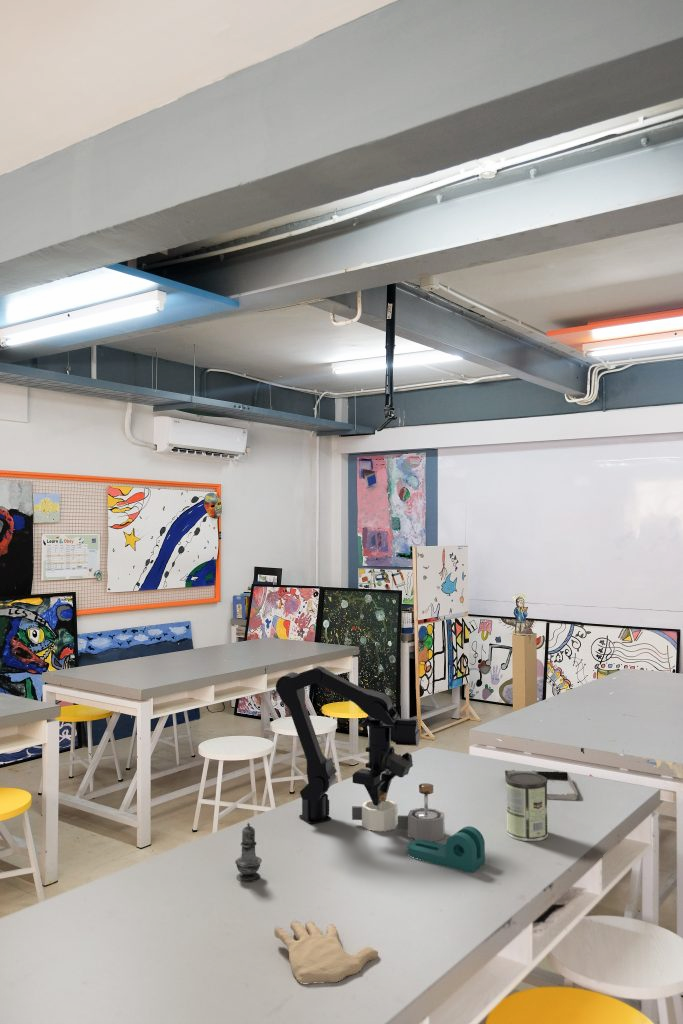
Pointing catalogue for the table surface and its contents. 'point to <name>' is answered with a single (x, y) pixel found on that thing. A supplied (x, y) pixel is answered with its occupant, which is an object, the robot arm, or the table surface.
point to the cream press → (377, 815)
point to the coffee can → (526, 806)
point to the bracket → (453, 850)
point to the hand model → (320, 954)
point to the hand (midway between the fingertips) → (379, 803)
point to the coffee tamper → (426, 802)
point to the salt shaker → (248, 857)
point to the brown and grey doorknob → (382, 798)
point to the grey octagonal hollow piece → (423, 825)
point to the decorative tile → (553, 776)
